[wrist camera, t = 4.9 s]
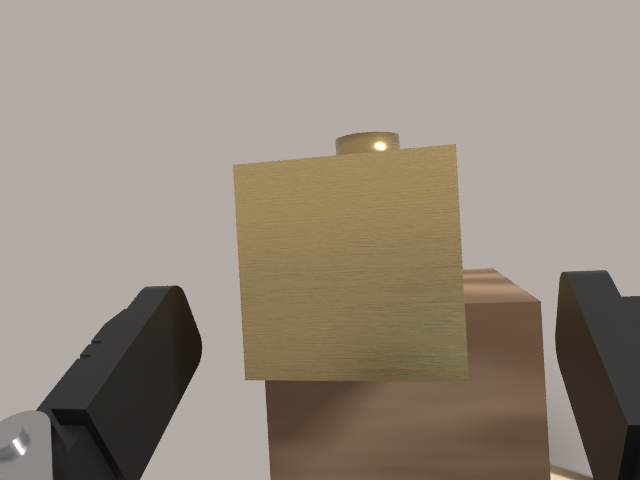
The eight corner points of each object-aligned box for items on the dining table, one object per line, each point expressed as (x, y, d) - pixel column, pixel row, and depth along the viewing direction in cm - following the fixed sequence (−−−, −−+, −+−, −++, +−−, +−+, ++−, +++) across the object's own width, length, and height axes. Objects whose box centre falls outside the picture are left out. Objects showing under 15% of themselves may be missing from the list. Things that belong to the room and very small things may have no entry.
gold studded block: (383, 274, 33) (379, 196, 33) (447, 271, 32) (443, 192, 32) (245, 379, 9) (230, 111, 9) (468, 382, 9) (452, 84, 9)
